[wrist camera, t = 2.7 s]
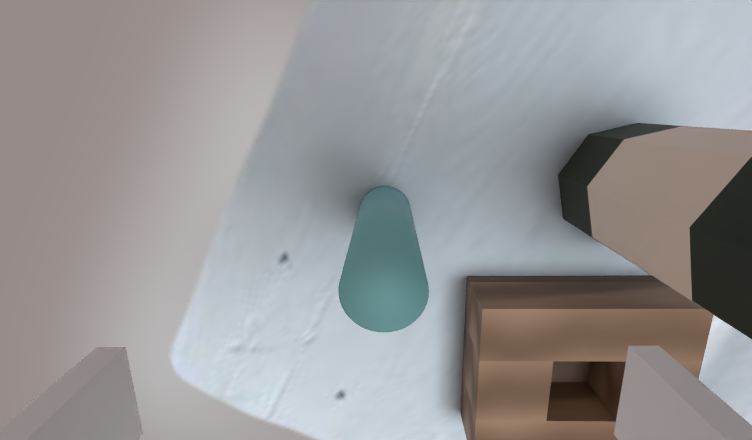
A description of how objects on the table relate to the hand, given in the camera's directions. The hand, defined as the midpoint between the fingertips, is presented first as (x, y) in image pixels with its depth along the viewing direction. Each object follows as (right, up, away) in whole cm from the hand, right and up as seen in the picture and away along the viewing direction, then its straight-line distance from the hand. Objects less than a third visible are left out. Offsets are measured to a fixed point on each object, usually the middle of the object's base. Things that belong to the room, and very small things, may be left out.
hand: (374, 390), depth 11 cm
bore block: (+14, -5, +21) cm, 25 cm away
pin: (+1, +5, +18) cm, 19 cm away
